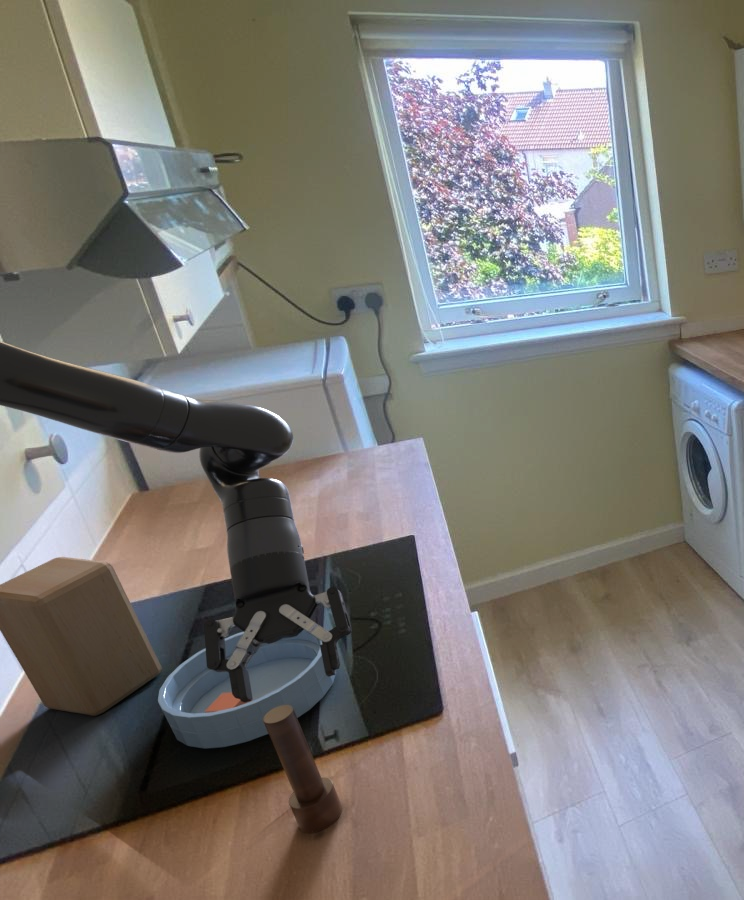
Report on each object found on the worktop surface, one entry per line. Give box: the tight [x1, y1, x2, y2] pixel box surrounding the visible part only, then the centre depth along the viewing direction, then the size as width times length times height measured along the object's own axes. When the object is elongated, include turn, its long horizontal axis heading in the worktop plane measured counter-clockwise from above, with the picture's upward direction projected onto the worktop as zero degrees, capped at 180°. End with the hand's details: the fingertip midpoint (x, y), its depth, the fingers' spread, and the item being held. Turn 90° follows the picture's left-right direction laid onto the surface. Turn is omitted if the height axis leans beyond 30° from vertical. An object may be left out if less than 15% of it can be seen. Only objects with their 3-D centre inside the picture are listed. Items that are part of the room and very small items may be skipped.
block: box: [205, 693, 251, 713], centre depth 100 cm, size 4×4×4 cm
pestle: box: [263, 705, 343, 834], centre depth 83 cm, size 4×4×16 cm
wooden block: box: [0, 556, 163, 717], centre depth 103 cm, size 10×10×20 cm
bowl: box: [157, 630, 338, 749], centre depth 104 cm, size 19×19×6 cm
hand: (289, 687), depth 87 cm, fingers open, 8 cm apart
